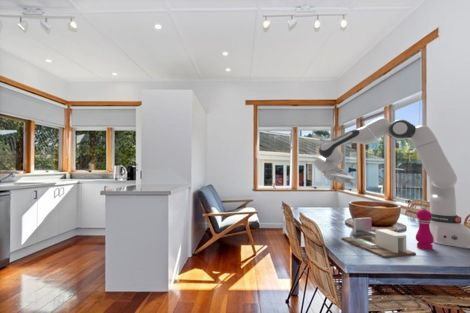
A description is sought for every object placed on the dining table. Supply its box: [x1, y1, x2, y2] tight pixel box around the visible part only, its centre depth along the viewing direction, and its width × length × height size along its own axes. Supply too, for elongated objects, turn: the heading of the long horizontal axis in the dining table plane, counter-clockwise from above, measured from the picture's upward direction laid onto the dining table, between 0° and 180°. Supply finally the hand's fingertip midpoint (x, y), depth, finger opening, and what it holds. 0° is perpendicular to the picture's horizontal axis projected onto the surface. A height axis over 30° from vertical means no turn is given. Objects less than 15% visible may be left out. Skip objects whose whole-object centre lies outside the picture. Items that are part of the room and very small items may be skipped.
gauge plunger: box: [352, 217, 376, 238], centre depth 136 cm, size 20×14×10 cm
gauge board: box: [340, 236, 417, 259], centre depth 133 cm, size 30×17×1 cm, turn 13°
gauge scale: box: [351, 236, 377, 248], centre depth 134 cm, size 14×3×2 cm, turn 13°
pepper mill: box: [415, 206, 434, 251], centre depth 131 cm, size 7×7×20 cm
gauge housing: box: [375, 228, 407, 253], centre depth 127 cm, size 12×6×8 cm, turn 13°
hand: (347, 183), depth 156 cm, fingers open, 8 cm apart
